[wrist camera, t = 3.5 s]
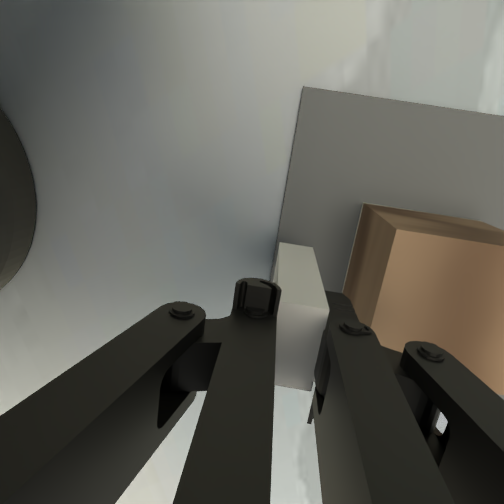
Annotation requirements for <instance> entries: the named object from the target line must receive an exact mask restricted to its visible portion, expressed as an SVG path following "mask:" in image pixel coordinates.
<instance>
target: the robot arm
mask: <svg viewBox="0 0 504 504" xmlns="http://www.w3.org/2000/svg"><path fill="white" fill-rule="evenodd" d="M35 218H36V201H35V190H34V184H33V179H32V174H31V171H30V167H29V163H28V161H27V158H26V155H25V152H24V150H23V147H22V145H21V143H20V141H19V139H18V137H17V135H16V133H15V131H14V129H13V127H12V126H11V124H10V122H9V121H8V119H7V117H6V116H5V114H4V113H3V111H2V110H1V109H0V289H1V288H2V287H4V286H5V285H6V284H7V283H8V282H9V281H10V280H11V279H12V278H13V276H14V275H15V274H16V273H17V271H18V270H19V268H20V267H21V265H22V263H23V261H24V260H25V257H26V255H27V253H28V251H29V248H30V245H31V241H32V238H33V233H34V227H35ZM205 318H206V314H205V311H204V310H203V309H202V308H201V307H199V306H197V305H194V304H190V303H187V302H180V301H179V302H173V303H167V304H165V305H163V306H161V307H159V308H158V309H156V310H155V311H153V312H152V313H150V314H149V315H147V316H146V317H144V318H143V319H142V320H140V321H139V322H137V323H136V324H134V325H133V326H131V327H130V328H128V329H127V330H125V331H124V332H123V333H121V334H120V335H118V336H117V337H115V338H114V339H112V340H111V341H109V342H108V343H106V344H105V345H103V346H102V347H101V348H99V349H98V350H96V351H95V352H93V353H92V354H90V355H89V356H87V357H86V358H84V359H83V360H82V361H80V362H79V363H77V364H76V365H74V366H73V367H71V368H70V369H68V370H67V371H65V372H64V373H62V374H61V375H60V376H58V377H57V378H55V379H54V380H52V381H51V382H49V383H48V384H46V385H45V386H43V387H42V388H40V389H39V390H38V391H36V392H35V393H33V394H32V395H30V396H29V397H27V398H26V399H24V400H23V401H21V402H20V403H19V404H17V405H16V406H14V407H13V408H11V409H10V410H8V411H7V412H5V413H4V414H2V415H1V416H0V504H115V503H116V502H117V500H118V499H119V498H120V496H121V495H122V494H123V492H124V491H125V490H126V488H127V487H128V486H129V485H130V483H131V482H132V481H133V479H134V478H135V477H136V475H137V474H138V473H139V471H140V470H141V469H142V468H143V466H144V465H145V464H146V462H147V461H148V460H149V458H150V457H151V456H152V454H153V453H154V452H155V451H156V449H157V448H158V447H159V445H160V444H161V443H162V441H163V440H164V439H165V437H166V436H167V435H168V434H169V432H170V431H171V430H172V428H173V427H174V426H175V424H176V423H177V422H178V420H179V419H180V418H181V417H182V415H183V414H184V413H185V411H186V410H187V409H188V407H189V406H190V405H191V403H192V402H193V401H194V399H195V396H196V392H197V391H207V393H206V397H205V400H204V403H203V406H202V410H201V413H200V416H199V419H198V423H197V426H196V429H195V432H194V436H193V439H192V442H191V446H190V449H189V452H188V455H187V459H186V462H185V465H184V468H183V472H182V475H181V478H180V482H179V485H178V488H177V491H176V495H175V498H174V501H173V504H270V491H271V464H272V437H273V411H274V385H278V386H284V387H289V388H295V389H301V390H306V391H311V390H312V385H313V381H314V376H315V384H316V387H315V391H314V395H313V400H312V404H311V409H310V413H309V417H308V422H307V423H308V424H311V422H312V419H313V418H314V424H315V434H316V444H317V453H318V463H319V473H320V483H321V493H322V502H323V504H504V400H503V399H502V398H501V397H500V396H499V395H498V394H496V393H495V392H494V391H493V390H492V389H491V388H489V387H488V386H487V385H486V384H485V383H484V382H483V381H481V380H480V379H479V378H478V377H477V376H476V375H475V374H473V373H472V372H471V371H470V370H469V369H468V368H467V367H465V366H464V365H463V364H462V363H461V362H460V361H458V360H457V359H456V358H455V357H454V356H453V355H451V354H450V353H449V352H447V351H446V350H444V349H442V348H440V347H438V346H437V345H436V344H433V343H431V344H430V342H426V341H423V342H421V341H409V342H407V343H406V344H405V346H404V350H403V353H401V352H398V351H395V350H392V349H389V348H387V347H384V346H381V344H380V342H379V340H378V338H377V336H376V334H375V332H374V331H373V330H372V329H371V328H370V327H369V326H367V325H365V324H363V323H361V322H359V319H358V317H357V315H356V313H355V310H354V307H353V305H352V303H351V300H350V299H349V298H348V297H346V296H345V295H344V294H343V293H338V292H332V291H326V290H324V287H323V284H322V280H321V276H320V272H319V269H318V265H317V261H316V257H315V254H314V250H313V247H307V246H301V245H295V244H288V243H282V242H280V243H279V249H278V255H277V261H276V266H275V272H274V278H273V282H270V281H268V280H263V279H258V278H244V279H241V280H238V281H237V282H236V287H235V293H234V300H233V307H232V312H231V315H230V316H228V317H225V318H221V319H205ZM440 412H442V413H443V414H444V416H445V417H446V419H447V421H448V423H447V426H446V429H445V431H444V433H443V434H442V433H441V432H440V431H439V430H438V429H437V428H436V427H435V426H436V423H437V420H438V418H439V415H440Z"/></svg>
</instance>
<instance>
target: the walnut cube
mask: <svg viewBox="0 0 504 504" xmlns="http://www.w3.org/2000/svg"><path fill="white" fill-rule="evenodd" d="M342 293H343V294H344V295H345V296H346V297H348V298H349V299H350V300H351V303H352V305H353V307H354V310H355V313H356V315H357V317H358V319H359V322H361V323H363V324H365V325H367V326H369V327H370V328H371V329H372V330H373V331H374V332H375V334H376V336H377V338H378V340H379V342H380V344H381V346H384V347H387V348H389V349H392V350H395V351H398V352H401V353H403V350H404V346H405V344H406V343H407V342H409V341H421V342H423V341H426V342H430V344H431V343H433V344H436V345H437V346H438V347H440V348H442V349H444V350H446V351H447V352H449V353H450V354H451V355H453V356H454V357H455V358H456V359H457V360H458V361H460V362H461V363H462V364H463V365H464V366H465V367H467V368H468V369H469V370H470V371H471V372H472V373H473V374H475V375H476V376H477V377H478V378H479V379H480V380H481V381H483V382H484V383H485V384H486V385H487V386H488V387H489V388H491V389H492V390H493V391H494V392H495V393H496V394H500V395H504V231H503V230H501V229H499V228H496V227H494V226H491V225H489V224H487V223H484V222H482V221H478V220H472V219H465V218H459V217H452V216H446V215H440V214H433V213H427V212H421V211H414V210H408V209H401V208H395V207H389V206H382V205H376V204H370V203H363V204H362V208H361V213H360V217H359V221H358V226H357V230H356V234H355V238H354V243H353V247H352V251H351V255H350V260H349V264H348V268H347V273H346V277H345V281H344V285H343V290H342Z"/></svg>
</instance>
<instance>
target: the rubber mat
mask: <svg viewBox="0 0 504 504" xmlns="http://www.w3.org/2000/svg"><path fill="white" fill-rule="evenodd" d="M363 203H370V204H376V205H382V206H389V207H395V208H401V209H408V210H414V211H421V212H427V213H433V214H440V215H446V216H452V217H459V218H465V219H472V220H478V221H482V222H484V223H487V224H489V225H491V226H494V227H496V228H499V229H501V230H503V231H504V116H499V115H492V114H485V113H478V112H472V111H465V110H458V109H452V108H445V107H438V106H431V105H425V104H418V103H411V102H404V101H398V100H391V99H384V98H378V97H371V96H364V95H357V94H351V93H344V92H337V91H331V90H324V89H317V88H310V87H303V91H302V97H301V103H300V109H299V115H298V121H297V126H296V132H295V138H294V144H293V150H292V156H291V161H290V167H289V173H288V179H287V185H286V190H285V196H284V202H283V208H282V214H281V220H280V225H279V231H278V237H277V243H276V249H275V255H274V260H273V266H272V272H271V278H270V282H273V278H274V272H275V266H276V261H277V255H278V249H279V243H280V242H282V243H288V244H295V245H301V246H307V247H313V250H314V254H315V257H316V261H317V265H318V269H319V272H320V276H321V280H322V284H323V287H324V290H326V291H332V292H338V293H342V290H343V285H344V281H345V277H346V273H347V268H348V264H349V260H350V255H351V251H352V247H353V243H354V238H355V234H356V230H357V226H358V221H359V217H360V213H361V208H362V204H363ZM313 382H315V376H314V381H313ZM498 395H499V396H500V397H501V398H502V399H503V400H504V395H500V394H498Z"/></svg>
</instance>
